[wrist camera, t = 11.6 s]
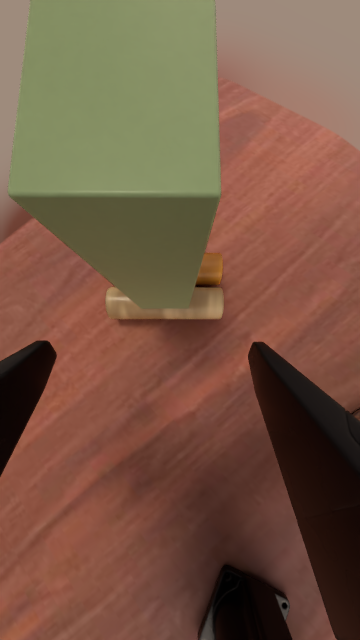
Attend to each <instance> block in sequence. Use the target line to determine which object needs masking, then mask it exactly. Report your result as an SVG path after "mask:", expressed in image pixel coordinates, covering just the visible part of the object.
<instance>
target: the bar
mask: <svg viewBox="0 0 360 640" xmlns="http://www.w3.org/2000/svg"><path fill="white" fill-rule="evenodd" d="M8 194H9V196H10V197H11V198H12V199H13V200H14V201H15V202H17V203H18V204H19V205H20V206H21V207H22V208H24V209H25V210H26V211H27V212H28V213H29V214H31V215H32V216H33V217H34V218H35V219H36V220H38V221H39V222H40V223H41V224H42V225H44V226H45V227H46V228H47V229H48V230H49V231H51V232H52V233H53V234H54V235H55V236H56V237H58V238H59V239H60V240H61V241H62V242H64V243H65V244H66V245H67V246H68V247H69V248H71V249H72V250H73V251H74V252H75V253H76V254H78V255H79V256H80V257H81V258H82V259H84V260H85V261H86V262H87V263H88V264H89V265H91V266H92V267H93V268H94V269H95V270H96V271H98V272H99V273H100V274H101V275H102V276H104V277H105V278H106V279H107V280H108V281H109V282H111V283H112V284H113V285H114V286H115V287H116V288H118V289H119V290H120V291H121V292H122V293H123V294H125V295H126V296H127V297H128V298H129V299H131V300H132V301H133V302H134V303H135V304H136V305H138V306H139V307H140V308H141V309H188V308H189V305H190V301H191V298H192V294H193V291H194V288H195V284H196V281H197V277H198V274H199V270H200V267H201V263H202V260H203V256H204V253H205V249H206V246H207V242H208V239H209V235H210V232H211V229H212V225H213V222H214V218H215V215H216V211H217V208H218V204H219V201H220V197H221V171H220V138H219V105H218V72H217V40H216V6H215V0H30V8H29V16H28V24H27V33H26V41H25V49H24V58H23V67H22V75H21V83H20V92H19V100H18V108H17V116H16V125H15V133H14V142H13V150H12V159H11V167H10V175H9V183H8Z"/></svg>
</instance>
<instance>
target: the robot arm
mask: <svg viewBox="0 0 360 640" xmlns="http://www.w3.org/2000/svg"><path fill="white" fill-rule="evenodd" d="M56 357H57V354H56V352H55V350H54V348H53V347H52V345H51V344H50V342H49V341H35V342H34V343H32V344H30V345H28V346H27V347H25V348H23V349H21V350H20V351H18V352H16V353H14V354H12V355H11V356H9V357H7V358H5V359H4V360H2V361H0V476H1V474H2V472H3V470H4V468H5V467H6V465H7V463H8V461H9V459H10V457H11V455H12V453H13V451H14V449H15V447H16V445H17V443H18V441H19V439H20V437H21V435H22V433H23V431H24V429H25V427H26V425H27V423H28V421H29V419H30V417H31V415H32V413H33V411H34V409H35V407H36V405H37V403H38V401H39V399H40V397H41V395H42V393H43V391H44V389H45V386H46V384H47V381H48V378H49V376H50V373H51V371H52V368H53V365H54V363H55V360H56ZM248 360H249V365H250V370H251V375H252V380H253V385H254V389H255V393H256V396H257V399H258V402H259V405H260V409H261V412H262V415H263V418H264V421H265V424H266V427H267V430H268V433H269V436H270V439H271V442H272V445H273V448H274V451H275V455H276V458H277V461H278V464H279V467H280V470H281V473H282V476H283V479H284V482H285V485H286V488H287V491H288V494H289V498H290V501H291V504H292V507H293V510H294V513H295V516H296V519H297V523H298V526H299V529H300V532H301V535H302V538H303V541H304V544H305V547H306V550H307V553H308V556H309V559H310V562H311V565H312V569H313V572H314V575H315V578H316V581H317V584H318V587H319V590H320V593H321V596H322V599H323V602H324V605H325V608H326V612H327V615H328V618H329V621H330V624H331V627H332V630H333V632H334V635H335V638H336V639H337V640H360V421H359V420H358V419H357V418H356V417H354V416H353V415H352V414H351V413H349V412H348V411H345V409H344V408H343V407H342V406H341V405H340V404H338V403H337V402H336V401H335V400H333V399H332V398H331V397H330V396H329V395H327V394H326V393H325V392H324V391H322V390H321V389H320V388H319V387H318V386H316V385H315V384H314V383H313V382H311V381H310V380H309V379H308V378H307V377H305V376H304V375H303V374H302V373H301V372H299V371H298V370H297V369H296V368H294V367H293V366H292V365H291V364H290V363H288V362H287V361H286V360H285V359H283V358H282V357H281V356H280V355H279V354H277V353H276V352H275V351H274V350H272V349H271V348H270V347H269V346H268V345H266V344H265V343H264V342H253V343H252V345H251V348H250V351H249V354H248ZM226 574H227V575H226ZM289 609H290V603H289V601H288V599H287V596H286V595H285V594H284V593H282V592H280V591H278V590H276V589H274V588H272V587H270V586H268V585H266V584H264V583H262V582H260V581H258V580H256V579H254V578H252V577H250V576H248V575H246V574H244V573H242V572H240V571H238V570H236V569H234V568H232V567H230V566H227V565H226V566H224V567H223V568H222V569H221V572H220V575H219V578H218V580H217V583H216V586H215V589H214V592H213V594H212V597H211V600H210V603H209V605H208V608H207V611H206V614H205V616H204V619H203V622H202V625H201V627H200V630H199V633H198V640H292V637H291V634H290V632H289V629H288V627H287V624H286V618H287V615H288V612H289Z"/></svg>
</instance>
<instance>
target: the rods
mask: <svg viewBox="0 0 360 640" xmlns="http://www.w3.org/2000/svg"><path fill="white" fill-rule="evenodd" d="M222 271H223V260H222V255H221V253H204V256H203V260H202V263H201V267H200V270H199V274H198V277H197V281H196V284H195V285H219V284H220V281H221V278H222ZM105 304H106V311H107V314H108V316H109V317H110V318H111V319H221V317H222V314H223V308H224V296H223V291H222V288H220V287H195V288H194V291H193V294H192V298H191V301H190V305H189V308H188V309H141V308H140V307H139V306H138V305H136V304H135V303H134V302H133V301H132V300H131V299H129V298H128V297H127V296H126V295H125V294H123V293H122V292H121V291H120V290H119V289H118V288H116V287H110V288H109V289H108V290H107V293H106V300H105Z"/></svg>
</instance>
